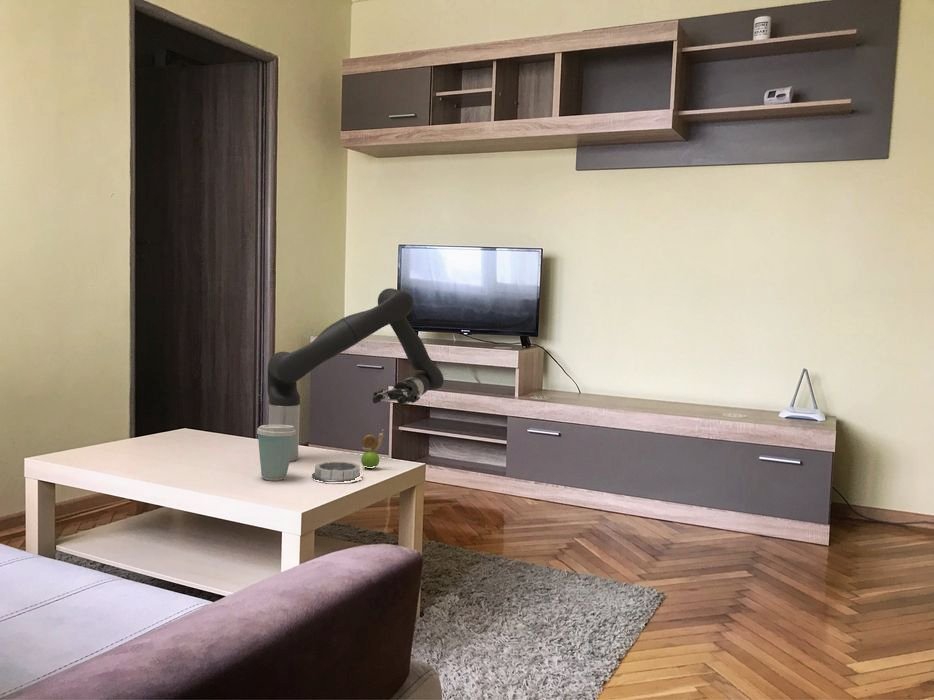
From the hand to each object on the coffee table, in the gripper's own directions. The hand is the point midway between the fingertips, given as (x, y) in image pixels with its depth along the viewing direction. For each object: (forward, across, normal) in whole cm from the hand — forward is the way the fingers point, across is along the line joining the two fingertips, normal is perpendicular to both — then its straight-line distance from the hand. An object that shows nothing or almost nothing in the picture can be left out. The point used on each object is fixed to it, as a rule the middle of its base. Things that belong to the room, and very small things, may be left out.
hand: (386, 401), depth 232 cm
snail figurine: (+11, 0, +19) cm, 22 cm away
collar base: (+26, -3, +16) cm, 31 cm away
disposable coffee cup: (+35, -18, +15) cm, 42 cm away
